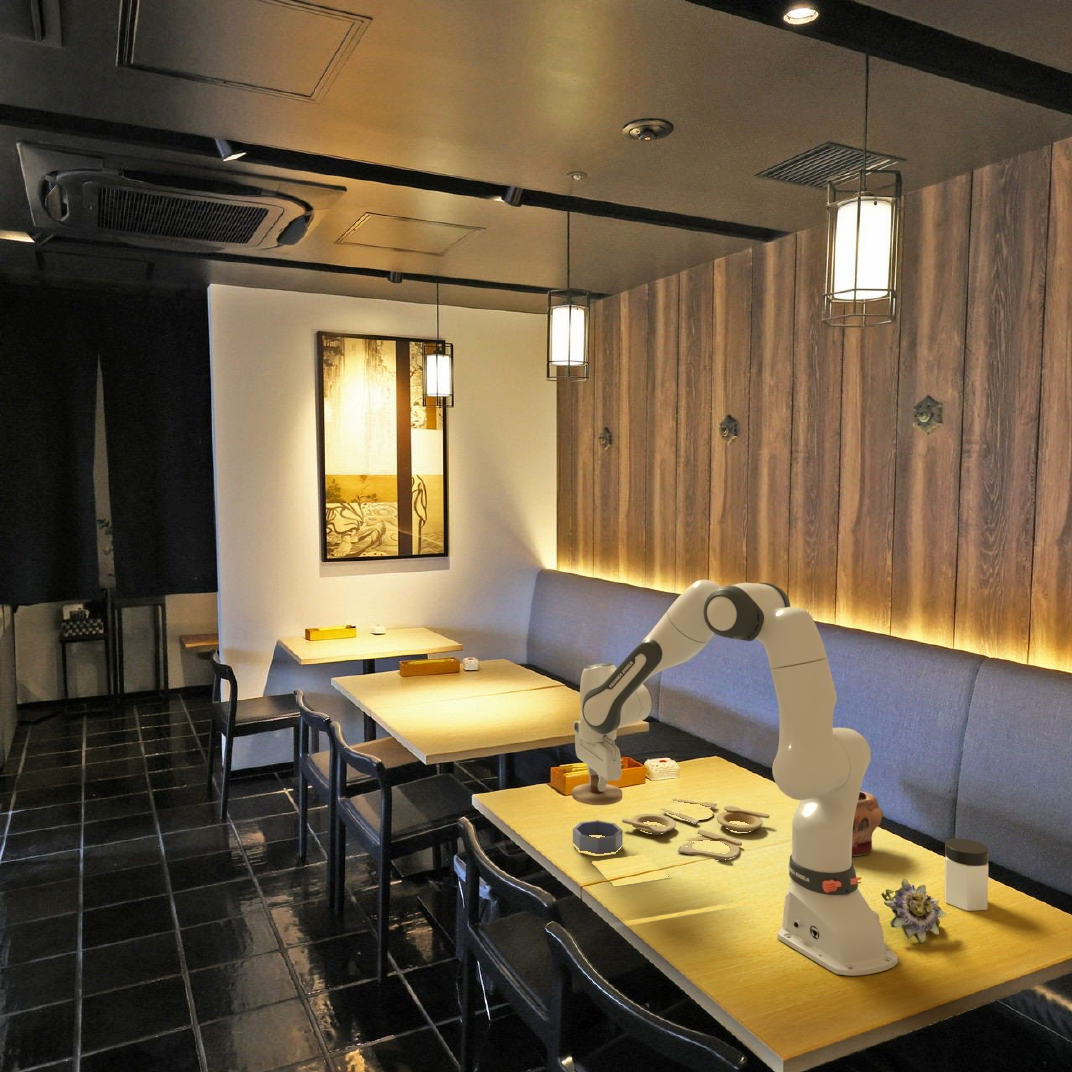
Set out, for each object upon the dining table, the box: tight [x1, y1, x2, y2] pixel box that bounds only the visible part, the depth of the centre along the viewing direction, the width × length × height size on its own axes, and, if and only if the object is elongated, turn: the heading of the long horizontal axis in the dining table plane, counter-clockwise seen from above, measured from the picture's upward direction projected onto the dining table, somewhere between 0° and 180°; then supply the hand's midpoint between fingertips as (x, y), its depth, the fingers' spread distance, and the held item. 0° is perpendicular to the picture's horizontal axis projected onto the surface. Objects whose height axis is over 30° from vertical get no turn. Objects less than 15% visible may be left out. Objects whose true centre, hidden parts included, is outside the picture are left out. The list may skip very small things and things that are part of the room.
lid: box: [571, 773, 623, 806], centre depth 205 cm, size 12×12×5 cm
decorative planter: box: [852, 790, 884, 857], centre depth 205 cm, size 20×12×14 cm, turn 109°
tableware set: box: [621, 798, 771, 861], centre depth 217 cm, size 35×29×4 cm
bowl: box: [572, 819, 624, 854], centre depth 205 cm, size 11×11×5 cm
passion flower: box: [880, 877, 947, 944], centre depth 167 cm, size 11×11×12 cm
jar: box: [944, 838, 990, 912], centre depth 179 cm, size 9×8×12 cm
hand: (597, 787), depth 205 cm, fingers closed on lid, 3 cm apart
